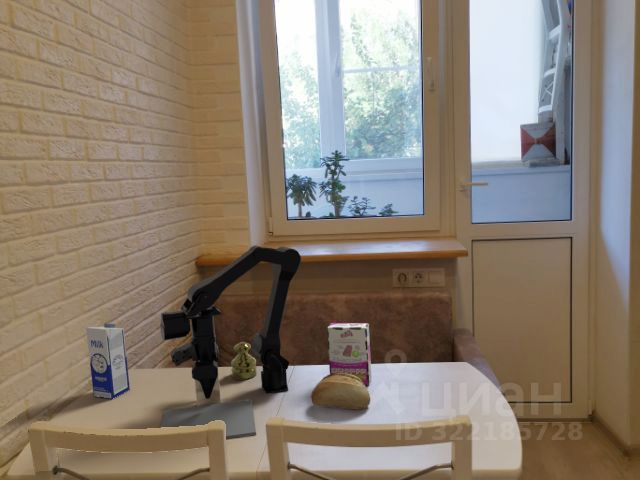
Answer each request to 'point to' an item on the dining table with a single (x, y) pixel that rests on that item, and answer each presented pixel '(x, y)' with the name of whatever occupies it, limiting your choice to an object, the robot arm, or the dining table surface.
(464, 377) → the dining table surface
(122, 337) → the milk carton
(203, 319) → the robot arm
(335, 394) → the bread roll
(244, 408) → the mat
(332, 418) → the dining table surface
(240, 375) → the olive tall rounded piece
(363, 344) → the candy bar box
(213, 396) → the tile
